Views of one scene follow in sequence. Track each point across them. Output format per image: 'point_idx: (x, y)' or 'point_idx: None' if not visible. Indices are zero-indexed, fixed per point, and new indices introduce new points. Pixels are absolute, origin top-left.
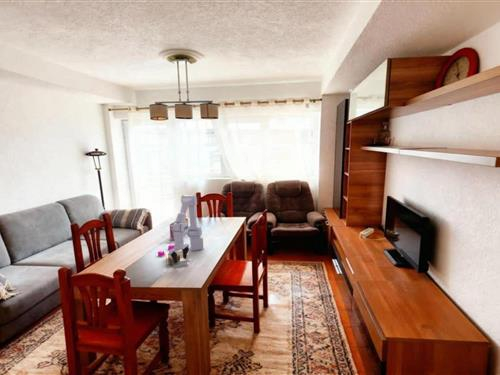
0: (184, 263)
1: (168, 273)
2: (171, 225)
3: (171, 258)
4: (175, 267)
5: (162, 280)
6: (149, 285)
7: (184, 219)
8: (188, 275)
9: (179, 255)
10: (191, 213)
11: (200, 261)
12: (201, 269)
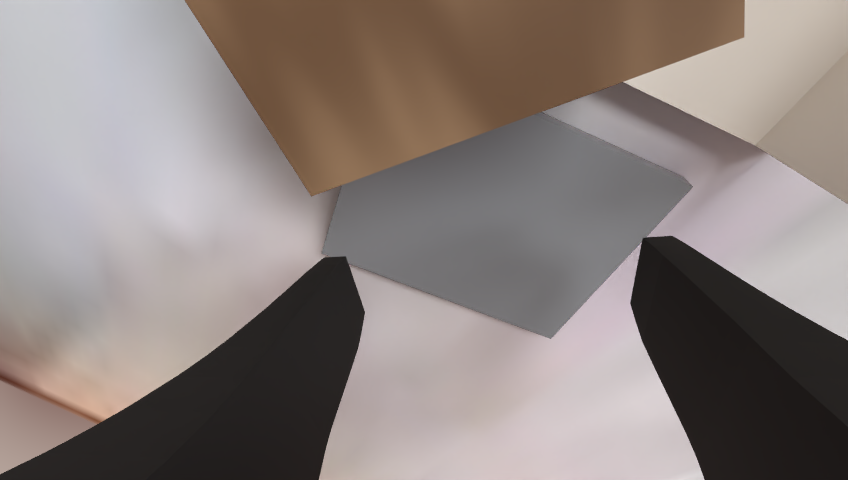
0: (571, 245)
1: (217, 304)
2: None
3: (280, 123)
4: (351, 262)
5: (135, 373)
6: (7, 364)
7: None
8: (402, 453)
9: (708, 46)
10: None
11: (840, 333)
12: (589, 462)
